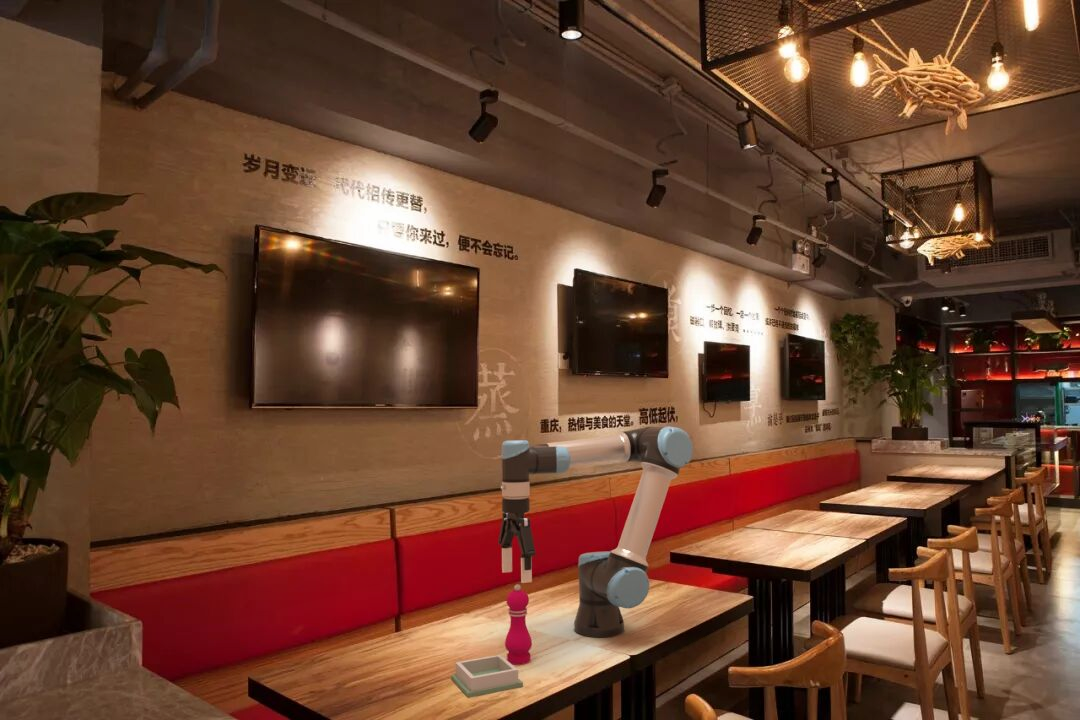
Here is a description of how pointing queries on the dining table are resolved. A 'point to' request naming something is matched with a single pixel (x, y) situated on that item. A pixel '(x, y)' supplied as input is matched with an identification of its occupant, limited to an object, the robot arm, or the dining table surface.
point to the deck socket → (486, 676)
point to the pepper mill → (518, 628)
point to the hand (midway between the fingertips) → (516, 577)
